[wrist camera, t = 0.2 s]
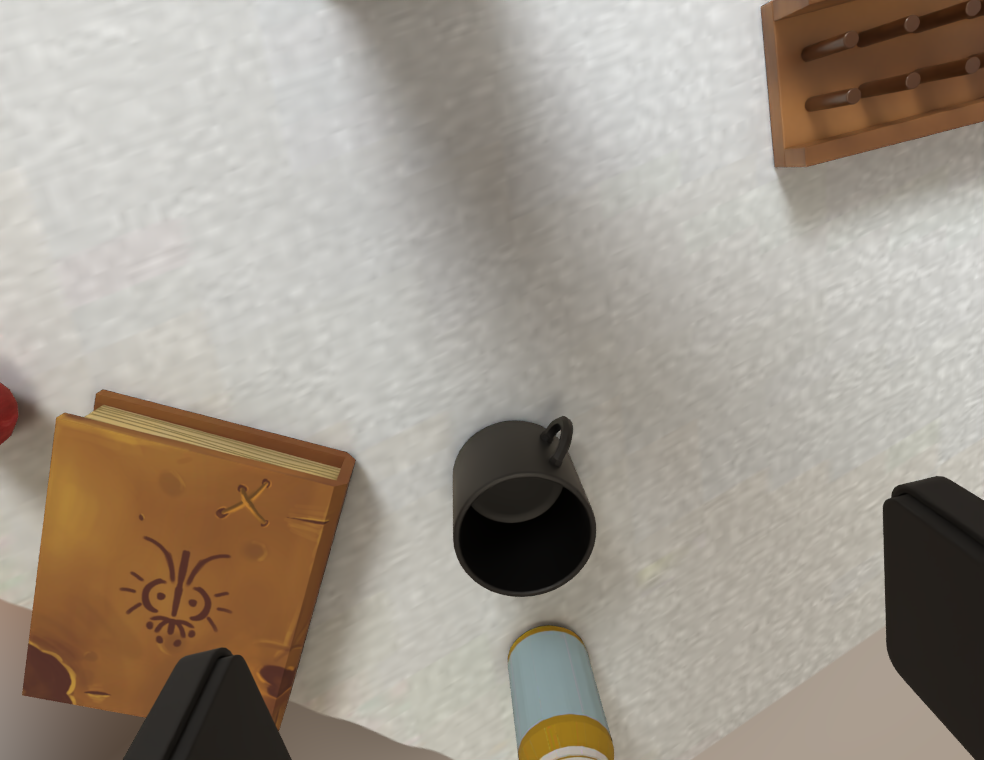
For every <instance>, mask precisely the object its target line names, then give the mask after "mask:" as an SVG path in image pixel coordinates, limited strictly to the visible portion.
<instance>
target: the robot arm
mask: <svg viewBox="0 0 984 760" xmlns="http://www.w3.org/2000/svg"><path fill="white" fill-rule="evenodd" d="M883 535H884V571H885V608H886V643H887V651H888V654H889V658H890V660H891V662H892V664H893V666H894V667H895V669H896V671H897V672H898V673H899V675H900V676H901V677H902V678H903V679H904V681H906V683H907V684H908V685H909V686H910V687H911V688H912V689H913V691H914V692H915V693H916V694H917V695H918V696H919V697H920V698H921V700H922V701H923V702H924V703H925V704H926V705H927V706H928V707H929V708H930V710H931V711H932V712H933V713H934V714H935V715H936V716H937V717H938V719H939V720H940V721H941V722H942V723H943V724H944V725H945V726H946V728H947V729H948V730H949V731H950V732H951V733H952V734H953V735H954V736H955V737H956V739H957V740H958V741H959V742H960V743H961V744H962V745H963V746H964V748H965V749H966V750H967V751H968V752H969V753H970V754H971V755H972V757H973V758H974V759H975V760H984V500H982V499H981V498H979V497H977V496H976V495H974V494H972V493H971V492H969V491H967V490H966V489H964V488H963V487H961V486H959V485H958V484H956V483H954V482H953V481H951V480H949V479H947V478H945V477H943V476H935V477H931V478H927V479H923V480H919V481H914V482H910V483H906V484H902V485H898V486H897V487H895V488H894V490H893V492H892V496H891V498H890V499H887V500H885V502H884V504H883ZM123 760H292V759H291V757H290V755H289V753H288V751H287V749H286V747H285V745H284V742H283V740H282V738H281V736H280V734H279V732H278V729H277V727H276V725H275V723H274V721H273V719H272V717H271V714H270V712H269V710H268V708H267V706H266V704H265V702H264V699H263V697H262V695H261V693H260V691H259V689H258V687H257V684H256V682H255V680H254V678H253V676H252V674H251V672H250V669H249V667H248V665H247V663H246V661H245V659H244V658H243V657H242V656H241V655H233V654H232V653H231V651H230V650H228V649H227V648H223V647H221V648H217V649H212V650H208V651H204V652H200V653H196V654H191V655H187V656H184V657H183V658H181V659H180V660H179V661H178V663H177V664H176V665H175V667H174V669H173V671H172V673H171V674H170V676H169V678H168V680H167V681H166V683H165V685H164V687H163V689H162V690H161V692H160V694H159V696H158V698H157V699H156V701H155V703H154V705H153V706H152V708H151V710H150V712H149V714H148V715H147V717H146V719H145V721H144V723H143V725H142V726H141V728H140V730H139V731H138V733H137V735H136V737H135V739H134V740H133V742H132V744H131V746H130V748H129V749H128V751H127V753H126V755H125V757H124V758H123Z"/></svg>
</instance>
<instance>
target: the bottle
mask: <svg viewBox="0 0 984 760" xmlns="http://www.w3.org/2000/svg"><path fill="white" fill-rule="evenodd" d="M508 670H509V679H510V688H511V697H512V705H513V714H514V723H515V731H516V740H517V749H518V758H519V760H614V747H613V743H612V738H611V735H610V731H609V728H608V724H607V721H606V717H605V714H604V710H603V707H602V703H601V700H600V696H599V693H598V689H597V685H596V682H595V678H594V675H593V671H592V668H591V664H590V661H589V657H588V654H587V651H586V648H585V646H584V643H583V641H582V640H581V638H579V637H578V636H577V635H576V634H575V633H574V632H572V631H570V630H568V629H566V628H563V627H558V626H551V625H547V626H539V627H536V628H534V629H531V630H529V631H527V632H526V633H524V634H523V635H522V636H520V637H519V638H518V639H517V640H516V641H515V642H514V644H513V645H512V647H511V649H510V651H509V655H508Z"/></svg>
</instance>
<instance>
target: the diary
mask: <svg viewBox="0 0 984 760" xmlns="http://www.w3.org/2000/svg"><path fill="white" fill-rule="evenodd" d="M355 461H356V460H355V459H354V458H353V457H352V456H351V455H349V454H348V453H347V452H344V451H340V450H336V449H332V448H328V447H325V446H321V445H317V444H313V443H309V442H305V441H301V440H297V439H293V438H290V437H286V436H282V435H278V434H274V433H270V432H266V431H262V430H258V429H255V428H251V427H247V426H243V425H239V424H235V423H231V422H227V421H223V420H220V419H216V418H212V417H208V416H204V415H200V414H196V413H192V412H188V411H185V410H181V409H177V408H173V407H169V406H165V405H161V404H157V403H153V402H150V401H146V400H142V399H138V398H134V397H130V396H126V395H122V394H118V393H115V392H111V391H107V390H101V391H100V392H98V393H96V398H95V405H94V411H93V412H92V413H90V414H89V415H87V416H85V417H80V416H76V415H72V414H68V413H63V414H62V415H60V416H58V417H57V418H56V424H55V432H54V441H53V449H52V457H51V465H50V473H49V481H48V489H47V497H46V505H45V514H44V522H43V530H42V538H41V546H40V554H39V562H38V570H37V578H36V587H35V595H34V603H33V611H32V619H31V627H30V635H29V643H28V652H27V660H26V668H25V676H24V684H23V692H22V695H24V696H29V697H36V698H40V699H46V700H52V701H57V702H63V703H69V704H74V705H79V706H85V707H90V708H96V709H101V710H107V711H113V712H118V713H124V714H129V715H135V716H140V717H147V715H148V714H149V712H150V710H151V708H152V706H153V705H154V703H155V701H156V699H157V698H158V696H159V694H160V692H161V690H162V689H163V687H164V685H165V683H166V681H167V680H168V678H169V676H170V674H171V673H172V671H173V669H174V667H175V665H176V664H177V663H178V661H179V660H180V659H181V658H183V657H184V656H187V655H191V654H196V653H200V652H204V651H208V650H212V649H217V648H221V647H223V648H227V649H228V650H230V651H231V653H232V654H233V655H241V656H242V657H243V658H244V659H245V661H246V663H247V665H248V667H249V669H250V672H251V674H252V676H253V678H254V680H255V682H256V684H257V687H258V689H259V691H260V693H261V695H262V697H263V699H264V702H265V704H266V706H267V708H268V710H269V712H270V714H271V717H272V719H273V721H274V723H275V725H276V727H277V729H278V731H279V729H280V726H281V722H282V719H283V716H284V713H285V709H286V706H287V703H288V700H289V697H290V693H291V690H292V686H293V683H294V679H295V675H296V672H297V668H298V665H299V661H300V657H301V654H302V650H303V647H304V643H305V640H306V636H307V632H308V629H309V625H310V622H311V618H312V615H313V611H314V607H315V604H316V600H317V597H318V593H319V589H320V586H321V582H322V579H323V575H324V572H325V568H326V564H327V561H328V557H329V554H330V550H331V546H332V543H333V539H334V536H335V532H336V529H337V525H338V521H339V518H340V514H341V511H342V507H343V504H344V500H345V496H346V493H347V489H348V486H349V482H350V478H351V475H352V471H353V468H354V464H355Z"/></svg>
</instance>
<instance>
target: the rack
mask: <svg viewBox="0 0 984 760" xmlns="http://www.w3.org/2000/svg"><path fill="white" fill-rule="evenodd" d="M761 14H762V25H763V36H764V48H765V59H766V71H767V82H768V94H769V105H770V117H771V128H772V140H773V151H774V163H775V167H808V166H812V165H816V164H820V163H824V162H828V161H831V160H835V159H839V158H843V157H847V156H851V155H855V154H859V153H863V152H866V151H870V150H874V149H878V148H882V147H886V146H890V145H894V144H897V143H901V142H905V141H909V140H913V139H917V138H921V137H925V136H929V135H932V134H936V133H940V132H944V131H948V130H952V129H956V128H960V127H963V126H967V125H971V124H975V123H979V122H983V121H984V0H772V1H771V2H769V3H767V4H765V5H763V6H762V7H761Z"/></svg>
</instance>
